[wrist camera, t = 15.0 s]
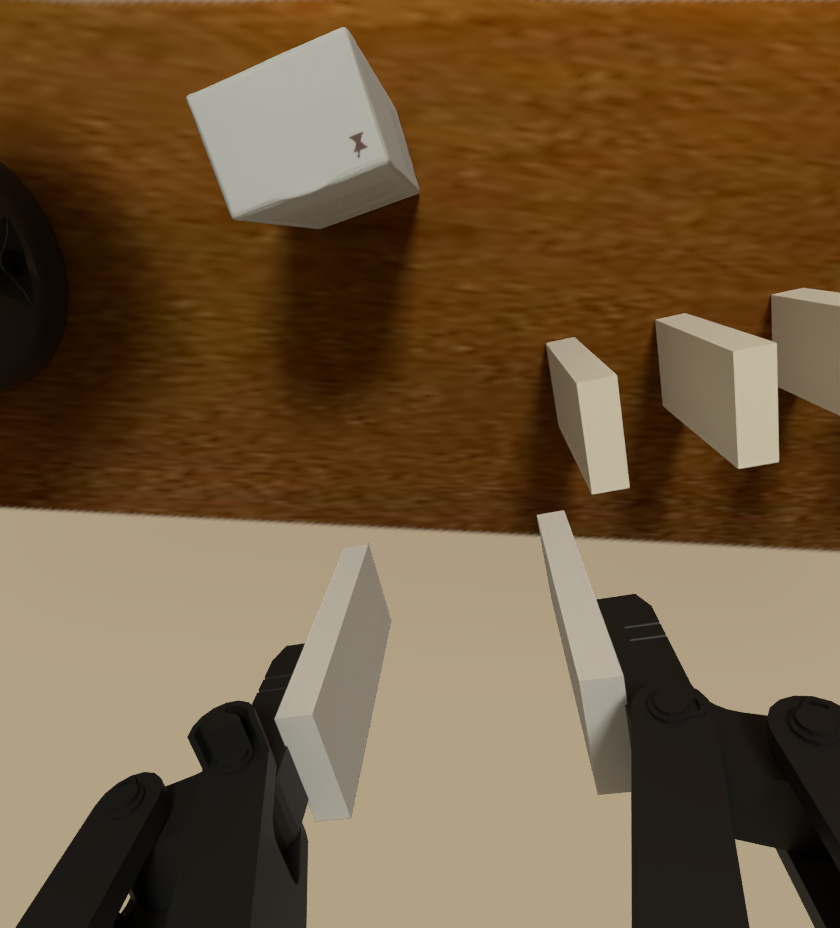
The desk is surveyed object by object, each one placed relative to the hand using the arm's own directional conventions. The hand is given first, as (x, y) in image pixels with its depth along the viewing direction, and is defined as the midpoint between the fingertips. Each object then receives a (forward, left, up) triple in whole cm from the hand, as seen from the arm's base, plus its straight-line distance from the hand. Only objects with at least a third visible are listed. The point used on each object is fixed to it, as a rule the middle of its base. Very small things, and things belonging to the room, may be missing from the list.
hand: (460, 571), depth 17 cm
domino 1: (+3, +5, -19) cm, 20 cm away
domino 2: (+7, +10, -19) cm, 22 cm away
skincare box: (-13, +5, -19) cm, 23 cm away
